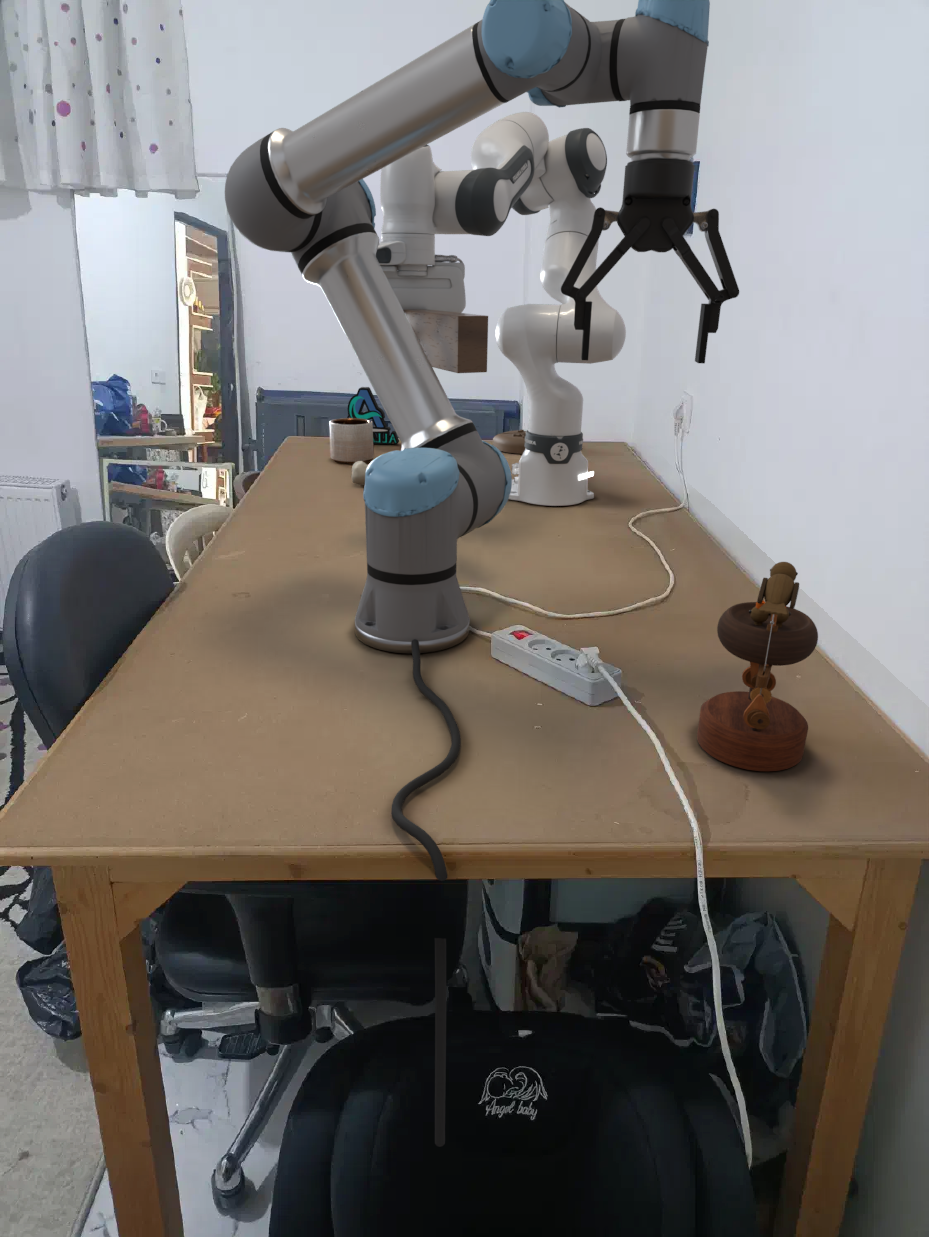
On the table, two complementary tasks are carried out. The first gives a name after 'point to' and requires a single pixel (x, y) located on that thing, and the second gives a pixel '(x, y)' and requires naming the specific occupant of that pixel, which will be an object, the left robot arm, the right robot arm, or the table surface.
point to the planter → (351, 440)
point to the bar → (451, 339)
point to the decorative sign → (371, 416)
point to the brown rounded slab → (510, 441)
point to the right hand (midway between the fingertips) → (408, 341)
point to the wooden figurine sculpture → (760, 680)
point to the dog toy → (359, 472)
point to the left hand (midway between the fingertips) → (641, 361)
